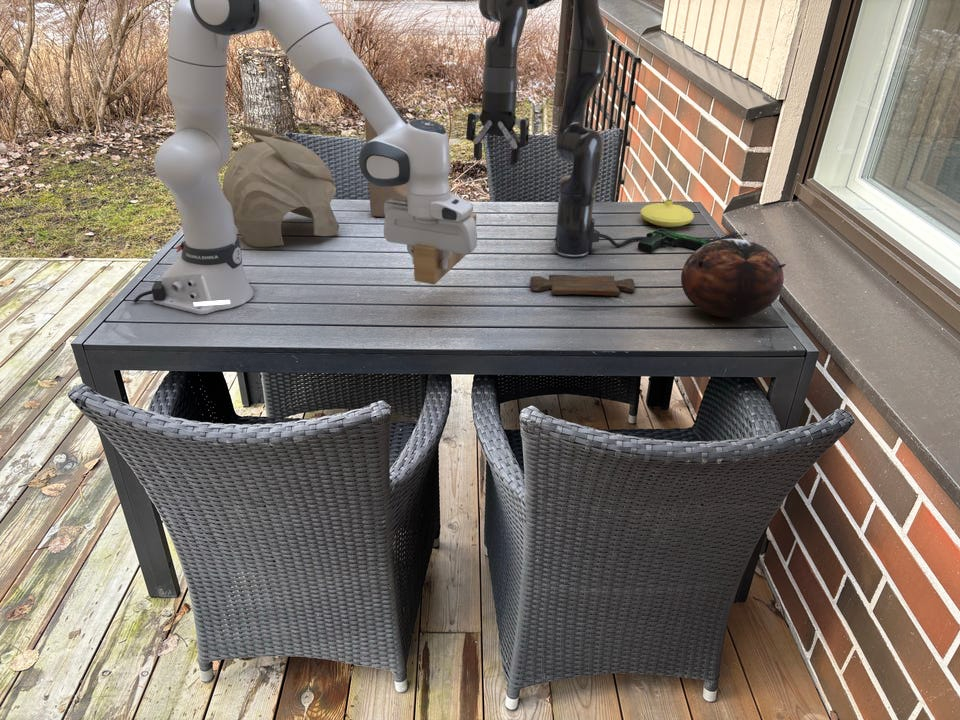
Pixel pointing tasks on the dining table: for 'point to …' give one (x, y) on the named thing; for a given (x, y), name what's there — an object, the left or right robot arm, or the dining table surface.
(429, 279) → the bar
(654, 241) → the handgun
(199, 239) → the left robot arm
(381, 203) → the decorative block
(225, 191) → the helmet
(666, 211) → the yellow knobbed lid
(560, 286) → the dark wooden board
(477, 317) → the dining table surface
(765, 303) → the brown coconut
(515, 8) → the right robot arm
